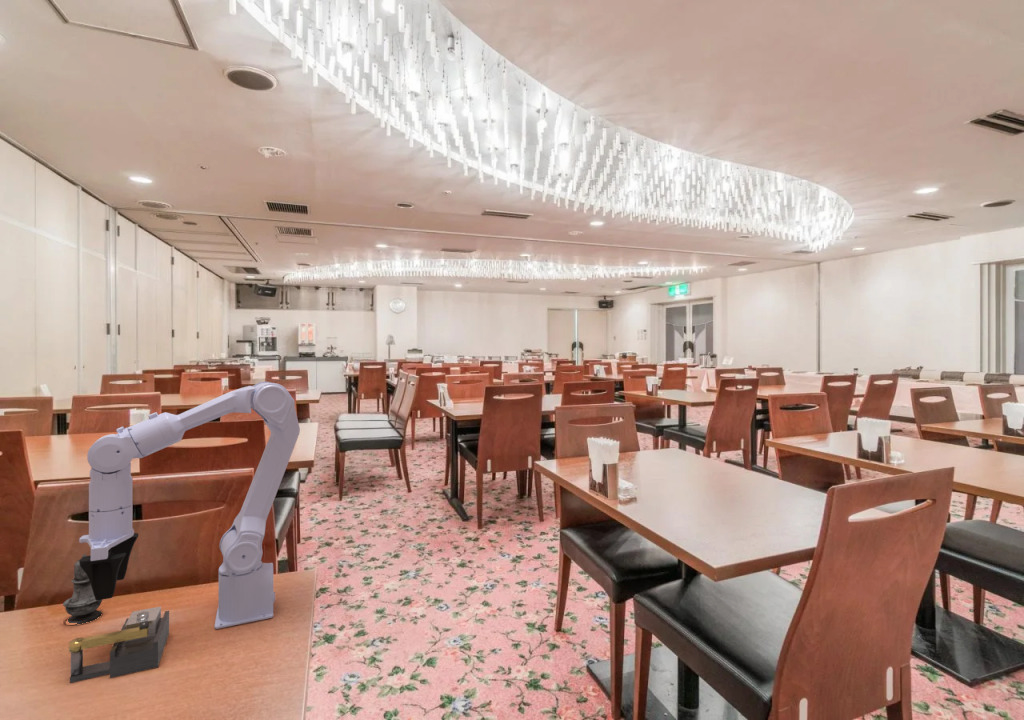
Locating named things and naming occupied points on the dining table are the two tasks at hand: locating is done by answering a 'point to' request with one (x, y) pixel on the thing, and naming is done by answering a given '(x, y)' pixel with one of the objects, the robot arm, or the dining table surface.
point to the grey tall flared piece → (82, 599)
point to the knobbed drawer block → (145, 615)
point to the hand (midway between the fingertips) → (110, 588)
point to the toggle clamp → (124, 656)
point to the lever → (109, 637)
